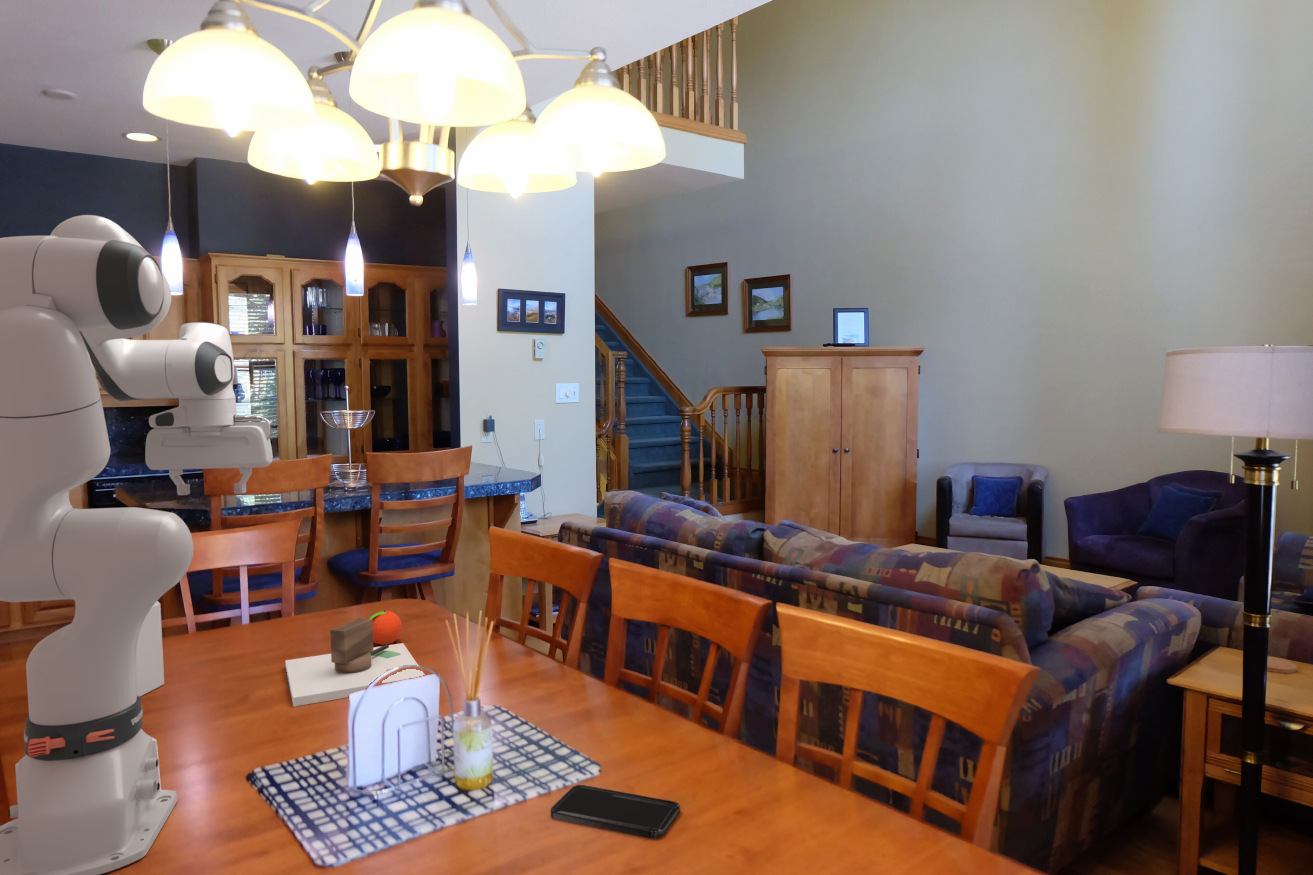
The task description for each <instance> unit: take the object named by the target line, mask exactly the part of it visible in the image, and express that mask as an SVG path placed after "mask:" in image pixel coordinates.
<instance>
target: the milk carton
mask: <svg viewBox="0 0 1313 875" xmlns="http://www.w3.org/2000/svg"><path fill="white" fill-rule="evenodd" d="M161 611H162V608H161V602H159V601H158V600H157V601H156V603H155V604H154V605H153V606H152V608H151V609H150V611H149V612H148V614H147V616H146V618H145V620H144V622H143V624H142V627H141V629H140V632H139V636H138V641H137V651H136V691H137V696H139V697H140V698H141V697H142V696H144V695H145V694H148V693H149V692H152V691H154V690H155V689H157V688H160V687H161V686H163V685H164V684H165V673H164V672H165V670H164V653H163V652H164V651H163V632H162V631H163V630H162V612H161Z"/></svg>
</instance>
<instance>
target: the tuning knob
mask: <svg viewBox="0 0 1313 875" xmlns="http://www.w3.org/2000/svg"><path fill="white" fill-rule="evenodd" d="M329 631H330V654H331V662H332V663H335V670H336V671H337V672H341V673H352V672H358V671H362V670H365V669H368V668H369V667H371V656H373V655H375V654H377V653H379V652H381V651H383V650H385V649H387V648H389V645H390V644H388V645H381V646H382V647H380V646H379V647H380V648H378V649H376V650H373V647H374V642H373V626H372V619H370V618H356V619H354V620H351V621H349V622H346V623H345V624H341V625H340V626H337V627H334V628H332V629H330V630H329Z"/></svg>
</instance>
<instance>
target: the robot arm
mask: <svg viewBox="0 0 1313 875" xmlns="http://www.w3.org/2000/svg"><path fill="white" fill-rule="evenodd" d="M171 304H172V292H171V288H170V285H169V283H168V280H167V278H166V276H165V274H164V273H163V271H162V269H161V267H160V265H159V262H158V261H157V260H156V258H155V257H154V256H153V255H152V254H151V253H150V252H149V251H147V250H146V249H145V248H144V247H143V246H142V245H141V244H140V243H139V242H138V240H136V239H135V237H133V236H132V235H131V234H130V233H129V232H127V231H126V230H125V229H124V228H122V227H121V226H120V225H119V224H117V223H116V222H115V221H113V220H111V219H109V218H107V217H104V216H100V215H94V214H93V215H92V214H81V215H77V216H76V215H75V216H73V217H70V218H67V219H65V220H64V221H62V222H60V223H59V224H58V225H56V227H55V228H54V229H53V230H52V231H51V233H50V235H19V236H7V237H6V236H5V237H0V602H5V603H6V602H7V603H23V602H26V603H27V602H40V601H41V602H42V601H43V602H44V601H59V600H61V601H62V600H73V601H74V602H75V604H74V605H75V611H74V616H73V620H72V622H71V623H69V624H66V625H64V626H63V627H61V628H59V629H57V630H55V631H54V632H52V633H50V634H49V635H47V636H44V638H43V639H41V640H40V641H39V642H37V643H36V644H35V646H34V647H33V649H32V650H31V651H30V653H29V655H28V657H27V659H26V660H27V661H26V663H25V670H26V686H27V687H26V688H27V701H28V704H27V705H28V715H27V717H26V719H25V722H24V723H25V724H24V725H25V727H24V730H23V740H24V754H25V755H24V756H23V757H22V758H20V759H19V761H18V762H17V763H15V765H14V766H15V769H14V770H15V779H16V780H15V782H16V783H15V784H16V796H17V797H16V798H17V799H16V800H17V804H14V805H11V806H9V809H8V810H7V812H8V813H7V814H8V817H9V818H10V819H12V820H10V821H8V822H6V823H4V824H2V825H0V875H102V874H105V873H109V872H112V871H114V870H117V869H120V868H122V867H125V866H128V865H130V864H132V863H135V862H136V861H139V860H140V859H142V858H144V857H145V856H146V855H147V854H148V852H149V850H150V849H151V847H152V846H153V843H154V842H155V841H156V839H157V836H158V835H159V833H160V832H161V830H162V828H163V826H164V824H165V823H166V821H167V819H168V818H169V816H170V815H171V813H172V811H173V810H174V808H175V807H176V806H175V805H176V804H177V803H178V800H179V799H178V794H177V793H178V792H177V791H176V790H171V789H162V783H161V774H160V772H161V771H160V760H159V748H158V741H157V739H156V738H154V737H152V736H151V735H149V734H148V733H146V732H145V731H144V730H143V729H142V727H143V722H144V721H143V714H144V710H143V709H144V708H143V705H142V701H141V700H142V699H141V696H140V697H139V696H137V691H136V651H137V641H138V636H139V632H140V629H141V627H142V624H143V622H144V620H145V618H146V616H147V614H148V612H149V611H150V609H151V608H152V606H153V605H154V604H155V603H156V601H158V600H160V599H161V597H163V596H164V594H166V593H167V592H168V591H169V590H171V589H172V588H173V587H175V586H176V585H177V584H178V583H179V582H180V581H181V580H182V579H183V578H184V577H185V575H186V573H187V572H189V571H188V570H189V568H190V566H191V564H192V561H193V557H194V551H195V550H194V549H195V548H194V541H193V536H192V534H191V531H190V529H189V527H188V525H187V524H186V523H185V522H184V520H183V519H182V518H181V517H180V516H179V515H177V513H174V512H169V511H165V510H159V509H153V508H152V509H151V508H143V507H136V506H133V507H132V506H131V507H130V506H129V507H127V506H126V507H103V508H102V507H99V508H74V507H73V506H72V504H71V502H70V491H71V490H74V489H76V488H78V487H80V486H81V485H84V484H85V483H87V482H90V481H91V480H93V479H95V478H96V477H97V476H98V475H99V474H100V473H101V472H102V471H103V470H104V469H105V468H106V466H107V464H108V463H109V460H110V456H111V445H110V440H109V434H108V428H107V423H106V418H105V412H104V406H103V402H102V401H103V400H102V398H101V392H100V388H99V385H100V387H101V388H102V389H103V390H104V392H105V393H107V394H108V395H109V396H111V397H112V398H113V399H115V400H117V401H121V402H124V401H125V402H126V401H128V402H129V401H139V400H144V399H145V400H146V399H148V400H149V399H150V400H153V399H154V400H155V399H178V406H177V407H173V408H171V409H167V410H164V411H162V412H159V413H155V414H152V415H150V416H149V417H148V424H149V426H150V427H151V428H152V429H150V431H149V432H148V433H147V435H146V438H145V440H146V441H145V448H144V449H145V453H144V454H145V458H144V459H145V465H146V466H147V467H148V469H149V470H152V471H160V470H162V471H163V470H164V471H165V470H168V475H169V478H170V479H171V480H172V481H173V483H174V485H175V486H176V494H177V495H178V496H188V495H190V494H191V484H190V483H185V482H184V480H183V478H182V475H183V474H184V471H183V470H199V469H200V470H201V469H205V470H206V469H239V474H240V475H241V478H240V480H239V481H238V482H236V483H233V493H234V494H245V493H247V483H248V481H249V479H250V478H251V476H252V474H253V468H266V467H269V466H270V465H271V464H272V463H273V460H274V458H273V457H274V455H273V449H272V443H271V439H270V438H271V436H272V425H271V422H270V420H268V419H267V418H266V417H263V416H262V415H259V414H255V415H240V414H239V415H237V402H236V401H237V398H236V394H235V392H234V386H233V383H234V380H235V379H234V378H235V375H236V374H235V359H234V352H233V346H232V341H231V337H230V333H229V330H228V328H226V327H225V326H223V325H221V324H218V323H215V322H210V321H209V322H207V321H190V322H185V323H183V324H182V325H181V326H180V328H179V332H178V339H129V338H136V337H140V336H142V335H146V334H148V333H149V332H151V331H153V330H155V329H156V328H157V327H158V326H159V325H160V324H162V322H163V321H164V319H165V318H166V317H167V315H168V312H169V310H170V307H171ZM14 818H16V819H14Z"/></svg>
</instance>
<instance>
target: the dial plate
mask: <svg viewBox="0 0 1313 875" xmlns="http://www.w3.org/2000/svg"><path fill="white" fill-rule="evenodd" d="M388 645H389V648H387V649H385V650H383V651H381V652H379V653H377V654H375V655H373V656H371V667H369V668H368V669H365V670H362V671H358V672H352V673H341V672H337V671H336V670H335V663H332V662H331V653H327V654H320V655H311V656H307V657H300V658H299V657H297V658H293V659H285V660H284V661H285V662H284V663H285V665H284V666H285V673H286V672H287V673H286V677H287V681H288V682H287V683H288V687H289V692H290V697H291V701H292V707H299V706H305V705H309V704H310V705H311V704H316V703H323V702H327V701H328V702H329V701H334V700H340V699H346V698H349V697H348V695H349V694H350V693H353V692H356V691H361V690H364V689H365V688H367V687H368V686H369V684H370V683H371V682H373V681H374V680H375V679H376V678H377V677H379V676H380V675H382V674H383V673H384V672H386V671H388V670H390V669H392V668H395V667H398V666H403V665H417V666H419V664H418V663H417V661H416V660H415V658H414V657H413V655H412V654H411V653H410V651H409V649H408V648H407V647H406V645H405V643H403V642H402V643H396V644H388ZM382 646H383V645H381V646H375V647H374V646H373V650H376V649H378V648H380V647H382ZM423 675H425V676H426V674H425V673H424V672H423V670H422V671H420V670H416V669H406V670H402V671H400V672H397V673H396V674H394V675H391V676H389V677H388V678H387V679H385V680H383V681H382V683H390V682H395V681H401V680H405V679H409V678H416V677H419V676H423Z"/></svg>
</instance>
